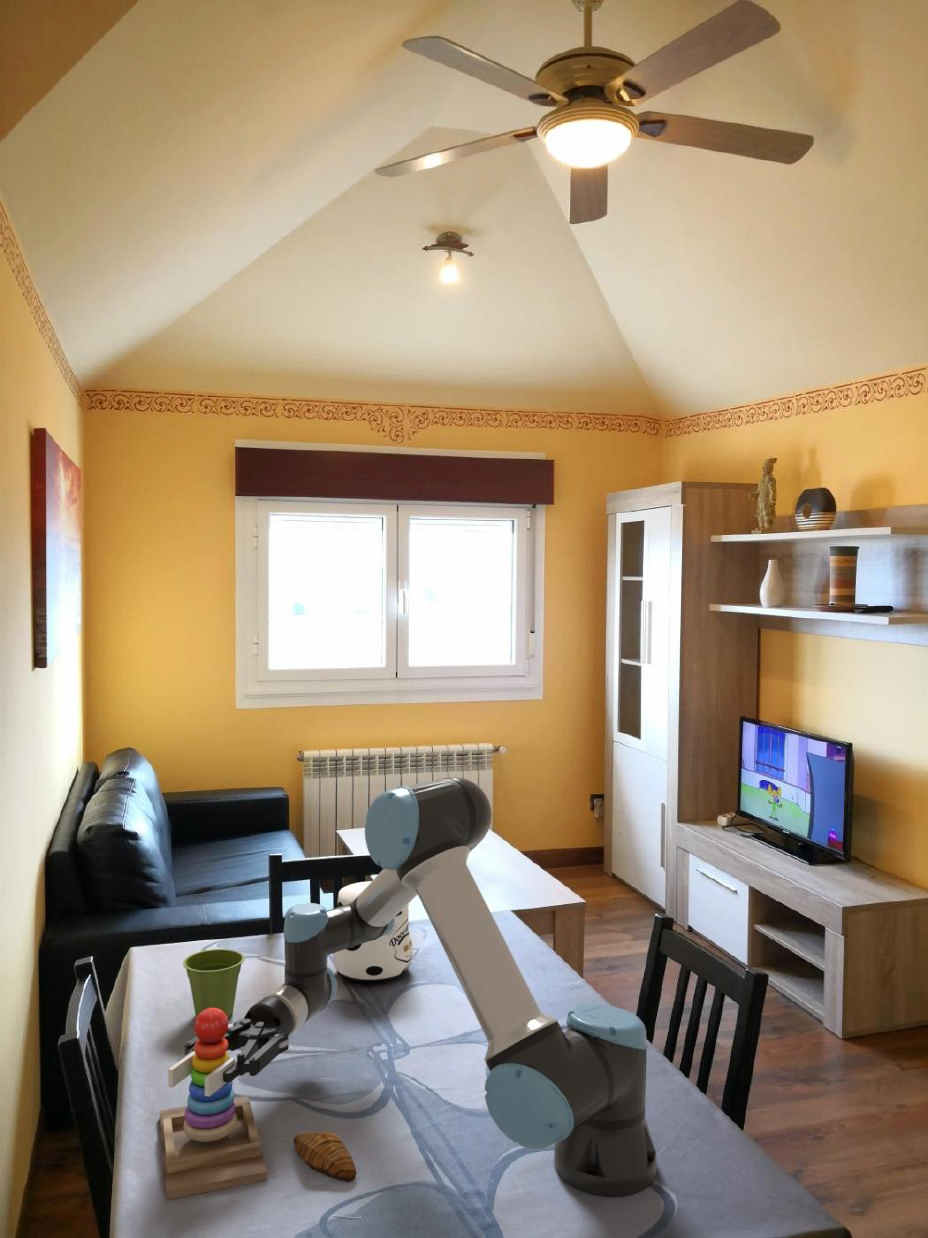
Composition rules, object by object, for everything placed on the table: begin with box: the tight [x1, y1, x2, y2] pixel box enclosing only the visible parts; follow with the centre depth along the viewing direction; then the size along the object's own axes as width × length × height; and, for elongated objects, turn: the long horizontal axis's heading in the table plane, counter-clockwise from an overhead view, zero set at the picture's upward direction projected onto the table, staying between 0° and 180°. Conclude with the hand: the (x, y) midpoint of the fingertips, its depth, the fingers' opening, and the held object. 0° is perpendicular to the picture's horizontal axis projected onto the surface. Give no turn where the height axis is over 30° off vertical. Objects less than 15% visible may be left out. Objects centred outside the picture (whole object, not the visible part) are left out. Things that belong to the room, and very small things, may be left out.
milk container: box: [333, 880, 414, 983], centre depth 217 cm, size 17×17×18 cm
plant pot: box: [182, 948, 245, 1019], centre depth 196 cm, size 12×12×11 cm
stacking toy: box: [184, 1008, 237, 1142], centre depth 151 cm, size 8×8×19 cm
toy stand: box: [159, 1095, 269, 1201], centre depth 152 cm, size 22×14×3 cm, turn 20°
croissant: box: [292, 1130, 357, 1183], centre depth 148 cm, size 14×7×5 cm, turn 47°
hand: (188, 1082), depth 146 cm, fingers closed on stacking toy, 6 cm apart
